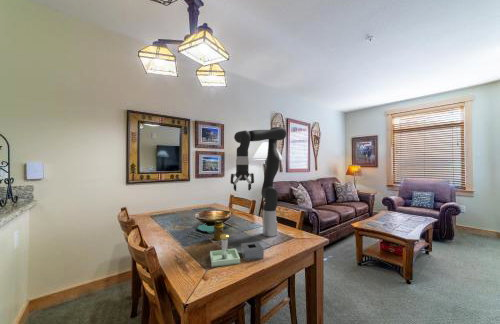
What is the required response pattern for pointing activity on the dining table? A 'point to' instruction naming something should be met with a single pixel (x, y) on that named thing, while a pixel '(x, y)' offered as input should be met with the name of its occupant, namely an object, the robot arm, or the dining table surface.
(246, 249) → the socket block
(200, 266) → the dining table surface
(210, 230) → the cutlery set
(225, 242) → the pin
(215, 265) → the tray
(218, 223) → the condiment
